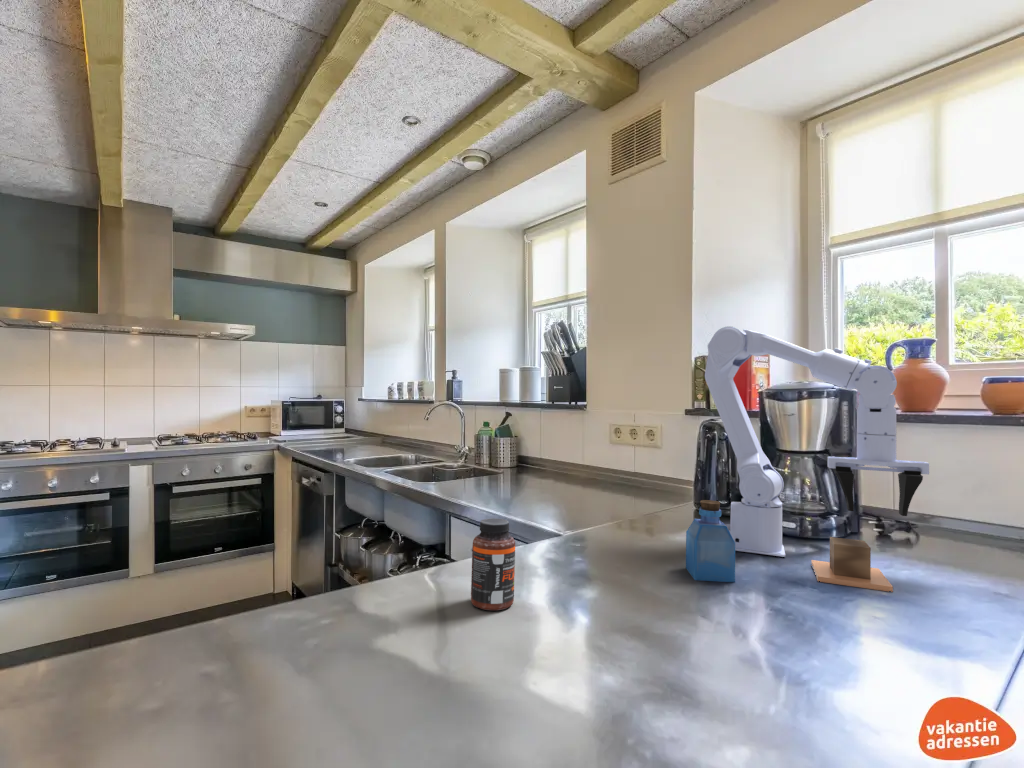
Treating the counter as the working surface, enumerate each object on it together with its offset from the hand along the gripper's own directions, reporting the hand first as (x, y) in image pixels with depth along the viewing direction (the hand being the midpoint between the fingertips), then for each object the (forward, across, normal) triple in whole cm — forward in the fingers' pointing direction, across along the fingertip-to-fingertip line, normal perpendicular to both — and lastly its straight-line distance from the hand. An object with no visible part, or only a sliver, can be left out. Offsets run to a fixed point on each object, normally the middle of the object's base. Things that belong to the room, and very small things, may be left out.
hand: (876, 512), depth 92 cm
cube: (+9, -5, -7) cm, 13 cm away
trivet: (+10, -5, -7) cm, 13 cm away
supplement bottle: (+10, -52, -45) cm, 70 cm away
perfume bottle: (+10, -26, -17) cm, 33 cm away
